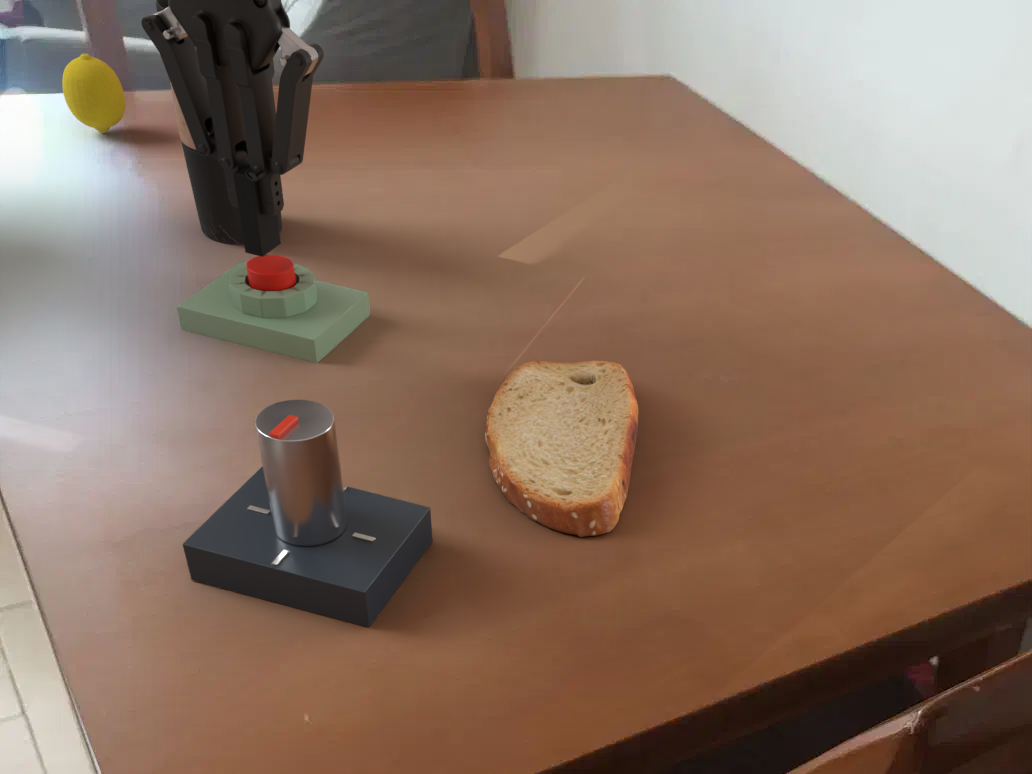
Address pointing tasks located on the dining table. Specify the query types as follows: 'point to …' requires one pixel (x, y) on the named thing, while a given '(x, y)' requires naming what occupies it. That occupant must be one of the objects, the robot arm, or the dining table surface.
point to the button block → (276, 314)
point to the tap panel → (312, 554)
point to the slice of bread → (565, 443)
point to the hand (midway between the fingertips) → (263, 247)
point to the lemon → (93, 93)
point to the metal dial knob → (302, 471)
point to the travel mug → (209, 184)
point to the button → (271, 273)
